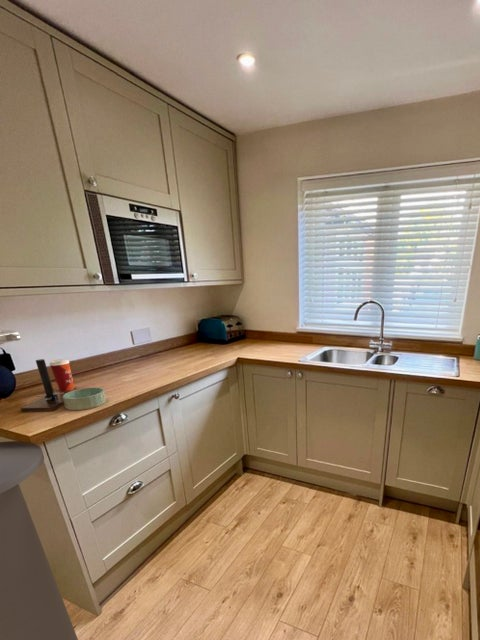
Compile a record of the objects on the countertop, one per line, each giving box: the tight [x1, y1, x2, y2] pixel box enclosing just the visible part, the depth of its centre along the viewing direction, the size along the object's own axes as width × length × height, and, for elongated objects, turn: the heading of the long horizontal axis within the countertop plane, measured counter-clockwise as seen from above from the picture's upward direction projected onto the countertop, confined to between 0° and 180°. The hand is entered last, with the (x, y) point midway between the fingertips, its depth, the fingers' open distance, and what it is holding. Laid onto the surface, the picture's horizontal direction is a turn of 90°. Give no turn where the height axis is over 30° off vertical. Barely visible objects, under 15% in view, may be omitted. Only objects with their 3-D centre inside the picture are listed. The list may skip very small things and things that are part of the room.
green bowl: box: [62, 386, 107, 411], centre depth 136 cm, size 14×14×5 cm
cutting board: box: [20, 391, 70, 413], centre depth 139 cm, size 20×12×2 cm, turn 2°
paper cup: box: [48, 358, 75, 392], centre depth 152 cm, size 8×8×14 cm
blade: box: [35, 358, 64, 401], centre depth 135 cm, size 9×9×17 cm
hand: (7, 339), depth 130 cm, fingers open, 8 cm apart
